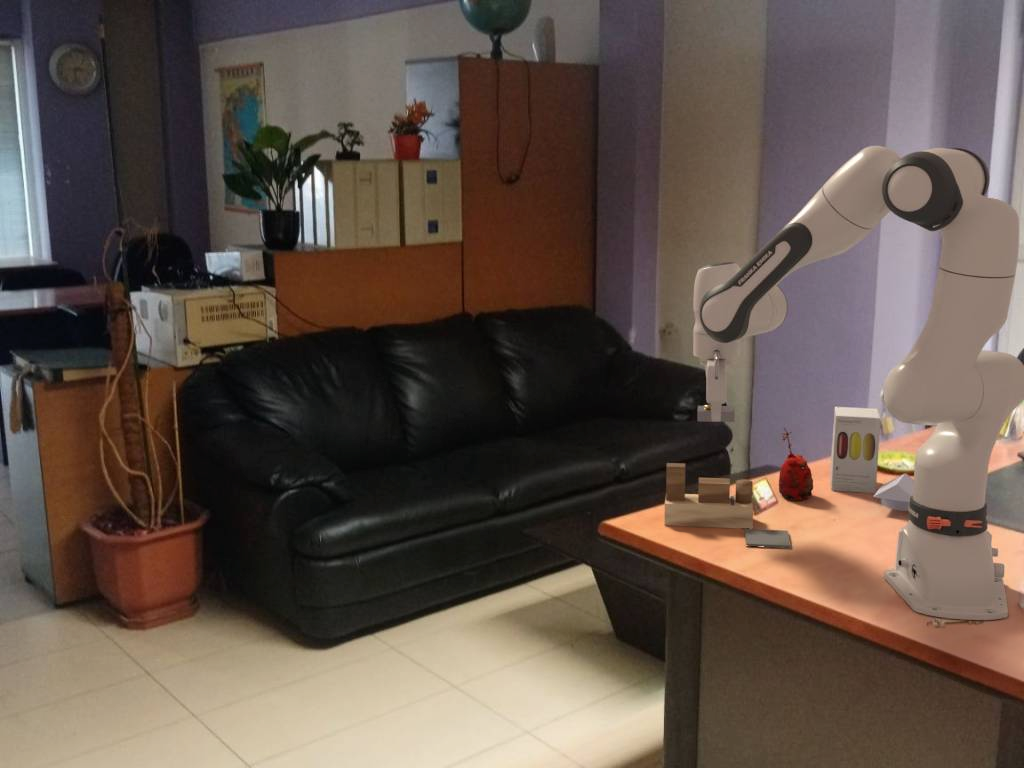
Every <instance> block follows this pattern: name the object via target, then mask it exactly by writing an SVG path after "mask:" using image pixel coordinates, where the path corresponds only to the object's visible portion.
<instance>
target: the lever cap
mask: <svg viewBox="0 0 1024 768" xmlns="http://www.w3.org/2000/svg"><path fill="white" fill-rule="evenodd" d="M696 414H697V417H696V418H697V419H696V421H697V422H700V423H701V422H708V423H709V422H710V423H711V422H713V421H712V420H711V404H704V405H697V413H696ZM735 414H736V413H735V406H734V405H722V408H721V420H720V421H719V422H720V423H735V416H736V415H735ZM719 422H718V423H719ZM713 423H714V422H713Z"/></svg>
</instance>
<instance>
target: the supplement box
mask: <svg viewBox="0 0 1024 768" xmlns="http://www.w3.org/2000/svg"><path fill="white" fill-rule="evenodd" d="M833 411H834V412H833V413H834V415H833V426H832V427H833V430H832V441H831V454H830V455H831V456H830V457H831V458H830V471H829V472H830V473H829V474H830V478H829V480H830V482H829V483H830V490H831V491H834V492H835V491H837V492H849V493H850V492H851V493H863V494H865V493H866V494H876V492H877V481H878V480H877V479H878V478H877V477H878V465H879V463H878V462H879V450H880V434H881V431H880V430H881V415H880V413H879V409H878V408H876V407H875V408H867V407H865V408H864V407H847V406H846V407H845V406H834V410H833Z"/></svg>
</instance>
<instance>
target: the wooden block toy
mask: <svg viewBox="0 0 1024 768" xmlns="http://www.w3.org/2000/svg"><path fill="white" fill-rule="evenodd" d="M665 468H666V469H665V470H666V474H665V475H666V476H665V477H666V478H665V479H666V482H665V484H666V485H665V487H666V488H665V492H666V493H665V498H664V526H670V527H672V526H674V527H675V526H676V527H695V528H697V527H700V528H721V529H722V528H723V529H741V528H749V529H751V528H752V529H754V528H753V527H754V526H753V525H754V524H753V523H754V503H753V485H754V484H753V482H754V481H752V480H751V479H742V478H741V479H737V480H735V495H731V494H730V492H731V491H730V489H731V488H730V487H731V486H730V485H731V481H730V480H731V479H730V478H723V477H721V478H720V477H718V478H717V477H698V494H695V493H692V494H691V493H686V463H681V462H680V463H676V462H674V463H673V462H671V463H670V462H667V463H666V467H665Z"/></svg>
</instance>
